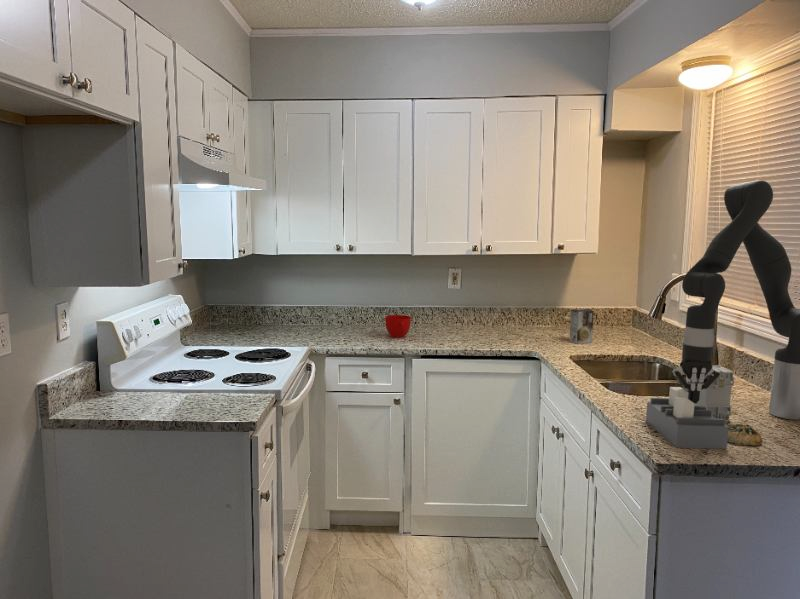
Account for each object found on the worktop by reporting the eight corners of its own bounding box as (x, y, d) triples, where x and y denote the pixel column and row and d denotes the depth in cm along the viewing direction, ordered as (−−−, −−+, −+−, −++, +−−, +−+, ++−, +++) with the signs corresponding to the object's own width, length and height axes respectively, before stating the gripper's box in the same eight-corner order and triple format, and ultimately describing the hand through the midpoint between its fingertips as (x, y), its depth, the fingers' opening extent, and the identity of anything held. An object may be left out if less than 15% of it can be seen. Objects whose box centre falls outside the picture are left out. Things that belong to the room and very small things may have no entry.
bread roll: (741, 430, 162) (744, 414, 161) (771, 450, 152) (775, 434, 150) (706, 433, 161) (708, 417, 159) (733, 454, 150) (736, 437, 149)
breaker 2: (684, 415, 155) (685, 397, 155) (692, 421, 150) (694, 403, 150) (673, 414, 155) (674, 397, 155) (681, 421, 150) (682, 402, 150)
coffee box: (584, 340, 286) (586, 308, 283) (592, 342, 280) (594, 310, 277) (568, 341, 283) (570, 309, 281) (576, 343, 277) (578, 311, 274)
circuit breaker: (703, 405, 184) (707, 360, 182) (730, 421, 170) (735, 372, 168) (680, 405, 184) (684, 360, 182) (705, 420, 170) (710, 372, 168)
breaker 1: (679, 403, 165) (680, 387, 164) (687, 409, 160) (688, 392, 159) (668, 403, 165) (669, 386, 164) (676, 409, 160) (677, 392, 160)
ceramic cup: (389, 341, 275) (390, 320, 274) (382, 334, 292) (382, 315, 290) (415, 340, 278) (416, 320, 277) (407, 333, 295) (407, 314, 293)
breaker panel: (690, 422, 168) (692, 397, 167) (726, 448, 148) (729, 421, 147) (645, 421, 169) (647, 396, 168) (675, 447, 149) (678, 419, 148)
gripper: (715, 340, 163) (709, 399, 166) (668, 339, 164) (663, 397, 166) (729, 346, 156) (723, 407, 158) (680, 345, 156) (675, 406, 159)
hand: (692, 402), depth 162 cm, fingers closed
